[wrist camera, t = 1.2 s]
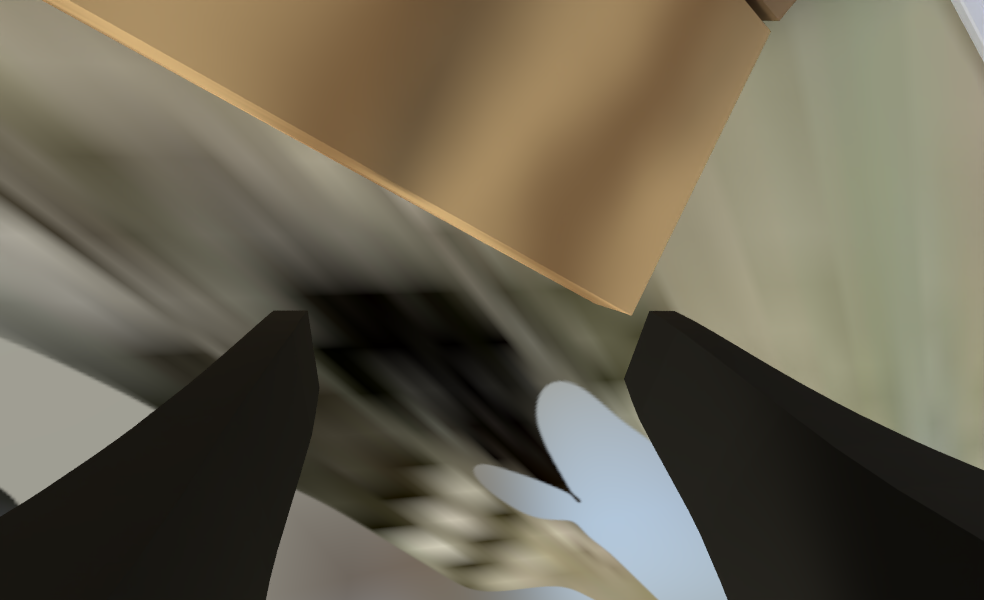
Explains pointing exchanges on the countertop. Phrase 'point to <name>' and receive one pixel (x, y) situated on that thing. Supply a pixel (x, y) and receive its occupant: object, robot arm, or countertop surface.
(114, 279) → the countertop surface
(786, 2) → the walnut plank
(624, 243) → the oak plank
